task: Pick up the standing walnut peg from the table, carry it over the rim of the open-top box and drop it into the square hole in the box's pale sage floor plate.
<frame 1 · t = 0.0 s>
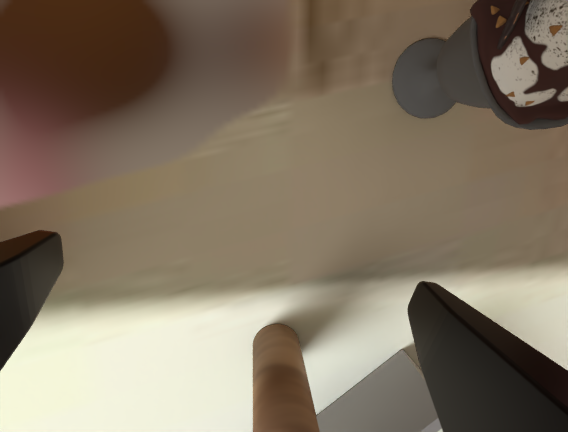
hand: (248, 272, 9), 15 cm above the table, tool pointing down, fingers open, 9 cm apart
peg: (276, 345, 27), on the table
sundae: (427, 79, 24), on the table
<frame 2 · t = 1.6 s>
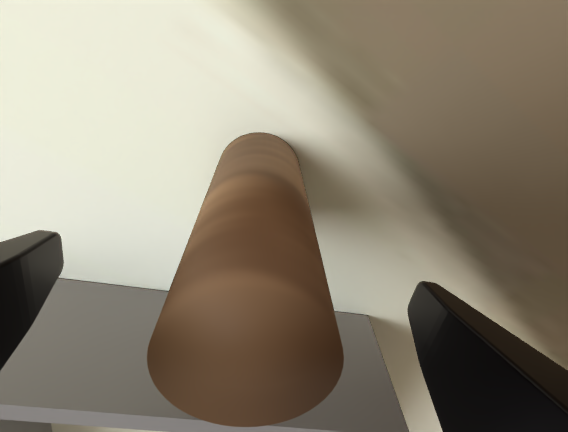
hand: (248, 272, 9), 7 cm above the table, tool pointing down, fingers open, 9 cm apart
peg: (259, 173, 15), on the table
box: (200, 429, 23), on the table
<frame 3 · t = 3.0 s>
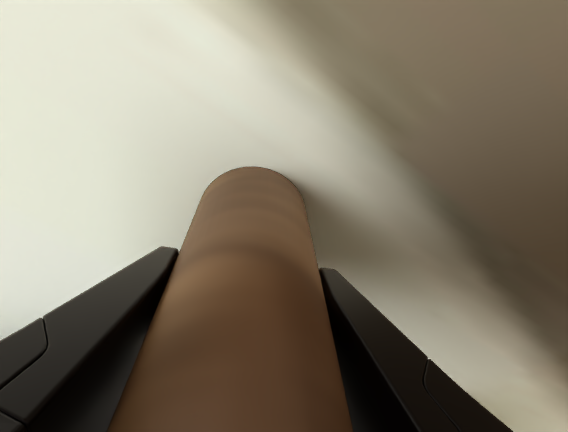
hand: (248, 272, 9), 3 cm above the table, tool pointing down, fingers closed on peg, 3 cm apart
peg: (252, 217, 12), on the table, touching gripper
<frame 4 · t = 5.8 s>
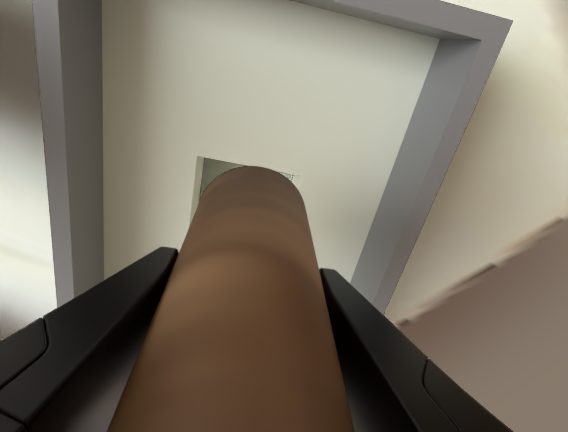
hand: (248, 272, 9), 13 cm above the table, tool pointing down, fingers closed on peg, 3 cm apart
peg: (252, 216, 12), point 10 cm above the table, touching gripper
box: (245, 191, 22), on the table
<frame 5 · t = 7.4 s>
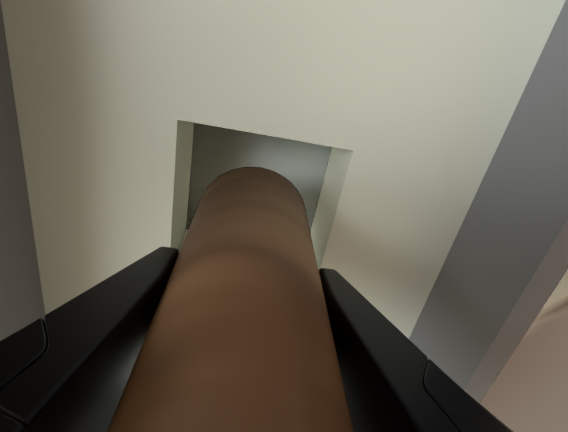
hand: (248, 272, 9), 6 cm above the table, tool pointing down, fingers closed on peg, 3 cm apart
peg: (252, 217, 12), point 3 cm above the table, touching gripper
box: (257, 181, 15), on the table
when the fingers open (4 cm above the table, at t = 8.8 s): peg stays where it is, resting in box.
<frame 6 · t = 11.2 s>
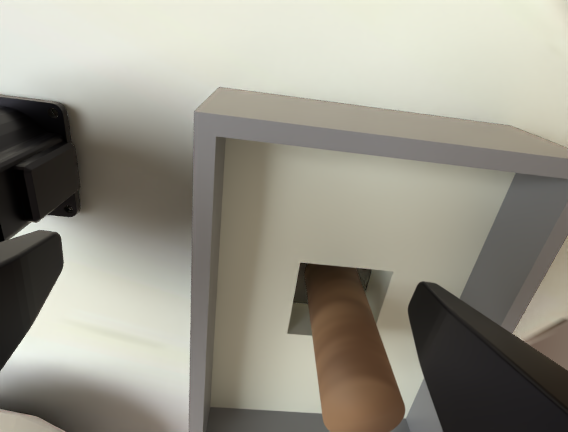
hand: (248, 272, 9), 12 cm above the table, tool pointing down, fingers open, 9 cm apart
peg: (330, 273, 24), resting in box
box: (330, 273, 24), on the table
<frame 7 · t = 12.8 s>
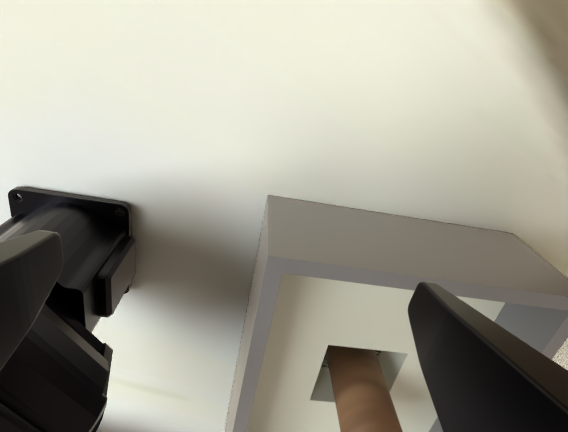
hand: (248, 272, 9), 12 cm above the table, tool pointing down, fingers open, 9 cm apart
peg: (347, 343, 27), resting in box
box: (348, 343, 27), on the table
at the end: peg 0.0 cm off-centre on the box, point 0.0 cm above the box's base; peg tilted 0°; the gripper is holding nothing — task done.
